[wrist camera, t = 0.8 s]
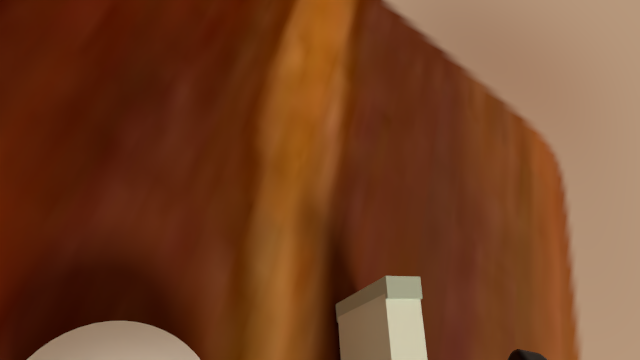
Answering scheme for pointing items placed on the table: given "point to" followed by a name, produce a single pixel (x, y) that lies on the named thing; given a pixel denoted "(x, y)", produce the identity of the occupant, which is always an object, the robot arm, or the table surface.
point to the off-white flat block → (383, 321)
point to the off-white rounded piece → (115, 344)
